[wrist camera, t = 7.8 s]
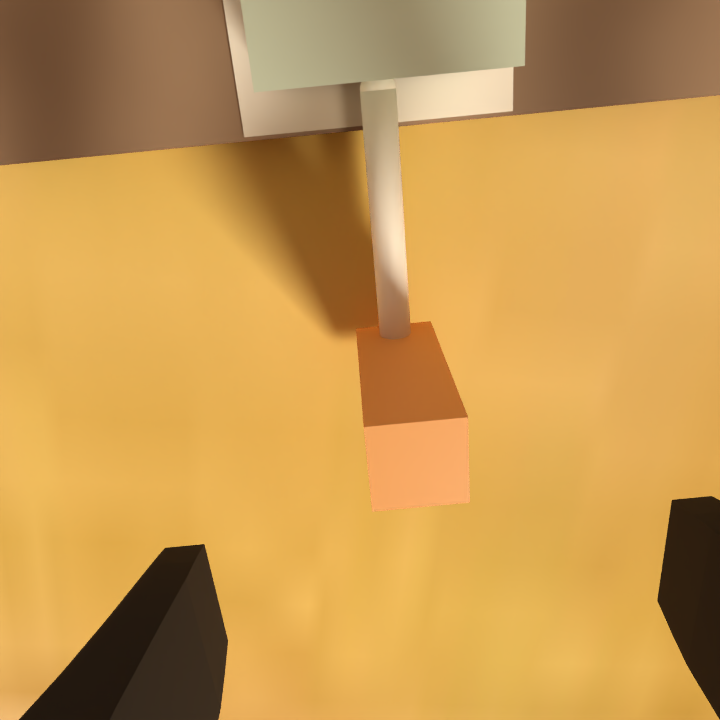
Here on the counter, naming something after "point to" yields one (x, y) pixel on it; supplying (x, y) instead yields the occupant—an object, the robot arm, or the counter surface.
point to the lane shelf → (310, 104)
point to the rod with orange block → (391, 205)
